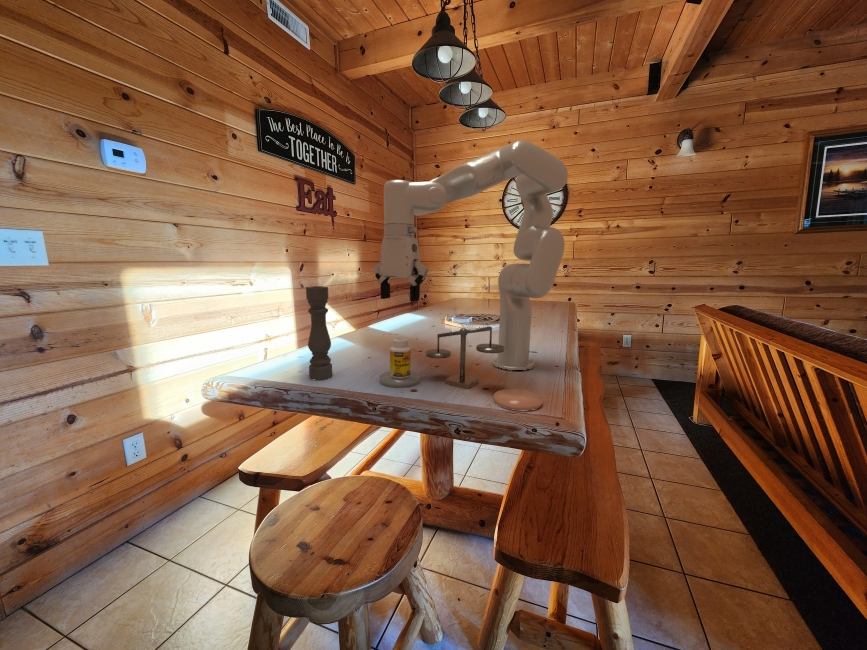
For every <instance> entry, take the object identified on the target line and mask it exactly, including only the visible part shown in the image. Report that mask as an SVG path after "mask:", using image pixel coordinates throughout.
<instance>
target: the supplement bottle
mask: <svg viewBox="0 0 867 650" xmlns="http://www.w3.org/2000/svg"><path fill="white" fill-rule="evenodd" d="M408 341H409V340H408V339H407V338H398V337H397V338H394V339H392V346H390V348H389V371H390V376H391V377H392V378H395V379H405V378H408V377H409V376H410V371H412V370H411V363H412V361H411V360H412V359H411V356H412V355H411V354H412V353H411V351H412V349H411V347H410V346H409V342H408Z"/></svg>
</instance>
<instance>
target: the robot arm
mask: <svg viewBox="0 0 867 650" xmlns="http://www.w3.org/2000/svg"><path fill="white" fill-rule="evenodd" d="M513 178H516V179H515V189H516V190H517V193H518V195H519V197H520V199H521V202H522V204H523V215H522V219H521V222H520V225H519V229H518V231H517V234H516V237H515V240H514V243H513V254H514V256H515V257H516V259H519V260H521V261H525V262H529V263H511V264H508V265H506V266H505V267H503V268H502V269H501V271H500V272H499V273H498V279H497V280H498V281H497V284H498V285H497V286H498V292H499V293H498V294H499V324H498V343H497V344H498V345H502V346H504V352H502V353H497V357H495V358H494V359H492V365H493V366H494V367H496V368H498V367H499V369H501V368H502V369H501V370H505V369H507V370H506V371H512V370H523V371H528V370H527V369H529V370H531V368H532V367H533V368H534V366H535V363H534V362H533V361H532V360H530V352H531V350H530V348H531V347H530V345H531V328H532V326H531V325H532V316H533V315H532V313H533V312H532V311H533V310H532V309H533V308H532V303H531V299H530V298H532V299H540V298H543V297H545V296H547V295H548V293H550V291H551V289H552V288H553V285H554V282H555V280H556V276H557V274H558V270H559V268H560V265H561V261H562V259H563V256H564V252H565V247H566V246H565V238H564V236H563V234H562V232H561V231H560V230H559V229H557V228H555V227H551V223H552V220H553V217H554V216H553V215H554V213H553V212H554V211H553V206H552V204H551V201H550V199H549V197H548V195H547V194H552V193H557V192H558V191H560V190H562V189H563V188H564V187H565V185H566V184H567V182H568V178H569V171H568V168H567V165H566V164H565V163H564V162H563V160H562V159H560V158H558V157H557V156H556V155H554V154H552V153H551V152H549V151H547V150H545V149H544V148H542V147H540V146H538V145H536V144H534V143H533V142H530V141H527V140H522V139H519V140H518V139H517V140H516V141H515V140H514V141H513V142H511V143H509V144H506V145H503V146H502V147H500V148H497V149H495V150H493V151H492V150H491V151H490V152H488V153H486V154H484V155H480V156H479V157H476V158H474V159H472V160H469V161H467V162H465V163H463V164H460V165H458V166H456V167H455V168H453V169H451V170H450V171H448V172H446V173H444V174H442V175H439V176H438V177H436V178H433V179H431V180H428V181H427V180H426V181H424V180H423V181H409V180H404V179H390V180H388V181H386V182H385V183H384V186H383V227H384V228H383V232H384V233H383V235H384V237H383V238H382V241H381V246H380V247H381V248H380V249H381V250H380V261H379V262H378V263H377V264H375V265H374V266H373V267H372V270H373V272H374V274H375V278H376V279H377V281H378V284H380V299H381V300H385V299H390V298H391V283H390V282H389V281H390V280H391V279H392V278H402V279H403V278H404V279H408V281H409V282H410V284H411V285H410V287H409V301H410V302H411V303H412V302H419V301H420V297H421V296H420V295H421V285H423V282H424V281H425V280H426V277H427V275H428V272H429V268H428V267H427V266H425V265H424V264H423V263H421V255H420V247H419V242H418V239H417V238H416V237H415V234H416V233H417V232H418V228H417V227H416V226H415V216H419V217H420V216H425V215H428V214H433V213H436V212H439V211H441V210H442V209H443V208H444V206H445V205H448V204H450V203H453V202H456V201H459V200H462V199H467V198H470V197H473V196H475V195H478V194H480V193H483V192H485V191H486V190H488V189H491V188H493V187H495V186H498V185H499V184H501V183H505V181H508V180H511V179H513ZM533 368H532V369H533Z"/></svg>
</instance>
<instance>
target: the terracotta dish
mask: <svg viewBox="0 0 867 650" xmlns="http://www.w3.org/2000/svg"><path fill="white" fill-rule="evenodd" d="M493 402H494V404H495V403H496V404H498V405H500V406H502V407H505V408H508V409H514V410H532V409H536V408H539V407H540V406H541V405H542V406H543V398H542V397H541V396H540V395H539V394H538V393H535V392H532V391H530V390H527V389H522V388H521V389H520V388H504V389H501V390H500V389H499V390H498V391H495V393H494V394H493ZM496 404H495V405H496ZM498 405H497V406H498ZM500 406H499V407H500ZM542 406H541V407H542ZM502 407H501V408H502ZM541 407H540V408H541ZM540 408H539V409H540ZM508 409H507V410H508Z"/></svg>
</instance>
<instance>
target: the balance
mask: <svg viewBox="0 0 867 650" xmlns="http://www.w3.org/2000/svg"><path fill="white" fill-rule="evenodd" d="M481 332H489V343H480V344H477V345H476V348H475V349H476V351H477V352H479V353H484V354H498V353H502V352H504V346H502V345H498V344H499V343H497V344H496V343H492V338H493V327H492V326H490V325H489V326H484V327H477V328H470V329H469V328H468V329H467V328H465V327H462V328H460V329H459V330H458V331H448V332H444V333H443V332H442V333H438V334H436V335H437V336H436V337H437V346H436V347H437V348H434V349H427V350H426V351H425V357H428V358H429V359H447V358H450V357H451V355H452V353H451V352H452V351H450V350H448V349H441V348H440V338H446V337H454V336H459V335H460V349H459V350H460V351H459V353H460V354H459V373H455V374H453V375H451V376H450V377H447V378H445V383H444V384H445V385H449V386H453V387H458V388H461V387H462V388H463V389H466V388H467V390H470V389H471V388H473V387H475V386H476V385H478V384H479V383H480V378H479V377H473V376H468V375H466V357H467V356H466V355H467V354H466V351H467V349H466V348H467V335H468V334H473V333H474V334H475V333H481ZM478 382H479V383H478ZM477 383H478V384H477ZM475 384H476V385H475ZM472 386H473V387H472ZM470 387H471V388H470ZM462 388H461V389H462Z"/></svg>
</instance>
